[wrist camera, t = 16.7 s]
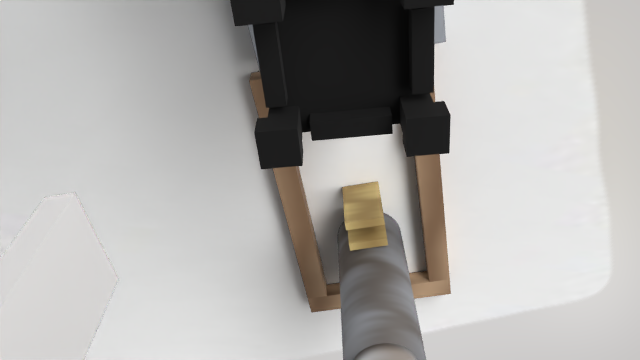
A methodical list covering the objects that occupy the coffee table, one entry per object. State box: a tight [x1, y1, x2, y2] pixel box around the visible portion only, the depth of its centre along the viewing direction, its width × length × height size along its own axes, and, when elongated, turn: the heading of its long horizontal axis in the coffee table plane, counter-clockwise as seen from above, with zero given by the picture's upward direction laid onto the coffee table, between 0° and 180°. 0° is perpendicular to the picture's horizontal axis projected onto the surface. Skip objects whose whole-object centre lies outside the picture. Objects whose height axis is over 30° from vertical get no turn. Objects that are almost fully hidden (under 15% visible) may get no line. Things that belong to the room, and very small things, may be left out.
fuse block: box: [249, 72, 451, 360], centre depth 41 cm, size 13×24×15 cm, turn 10°
